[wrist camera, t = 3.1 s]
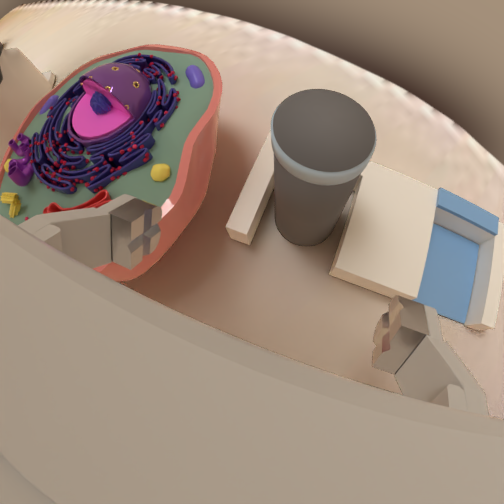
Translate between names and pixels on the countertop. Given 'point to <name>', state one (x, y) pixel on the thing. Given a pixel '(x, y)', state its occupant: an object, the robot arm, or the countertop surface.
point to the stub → (317, 161)
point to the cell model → (119, 142)
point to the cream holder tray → (403, 241)
